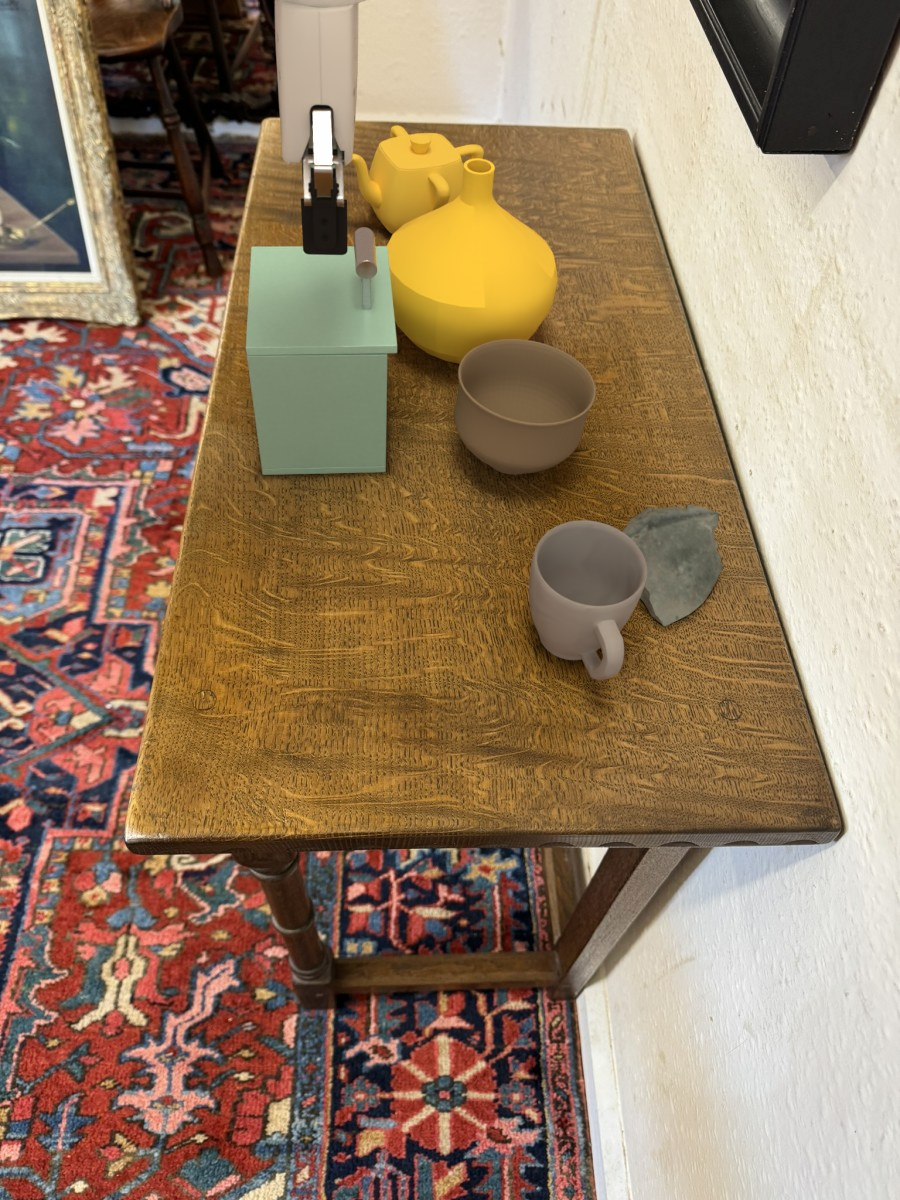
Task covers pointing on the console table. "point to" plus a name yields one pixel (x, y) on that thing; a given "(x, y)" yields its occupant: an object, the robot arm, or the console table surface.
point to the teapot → (412, 175)
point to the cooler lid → (321, 300)
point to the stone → (676, 558)
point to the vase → (469, 272)
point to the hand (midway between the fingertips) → (324, 216)
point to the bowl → (522, 404)
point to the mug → (585, 592)
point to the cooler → (320, 412)
